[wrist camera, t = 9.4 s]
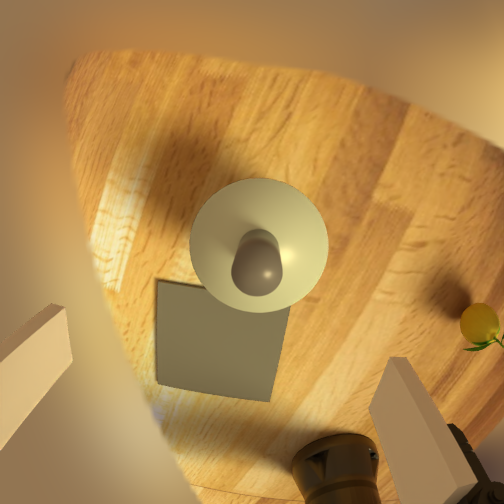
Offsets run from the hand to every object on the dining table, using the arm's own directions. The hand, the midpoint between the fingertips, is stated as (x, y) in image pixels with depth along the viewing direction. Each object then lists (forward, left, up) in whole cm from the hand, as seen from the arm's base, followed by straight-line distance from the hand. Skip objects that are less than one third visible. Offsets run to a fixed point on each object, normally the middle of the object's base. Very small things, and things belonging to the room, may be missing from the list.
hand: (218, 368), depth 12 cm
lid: (0, -1, -18) cm, 18 cm away
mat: (-16, +2, -26) cm, 30 cm away
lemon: (-7, -32, -26) cm, 42 cm away
